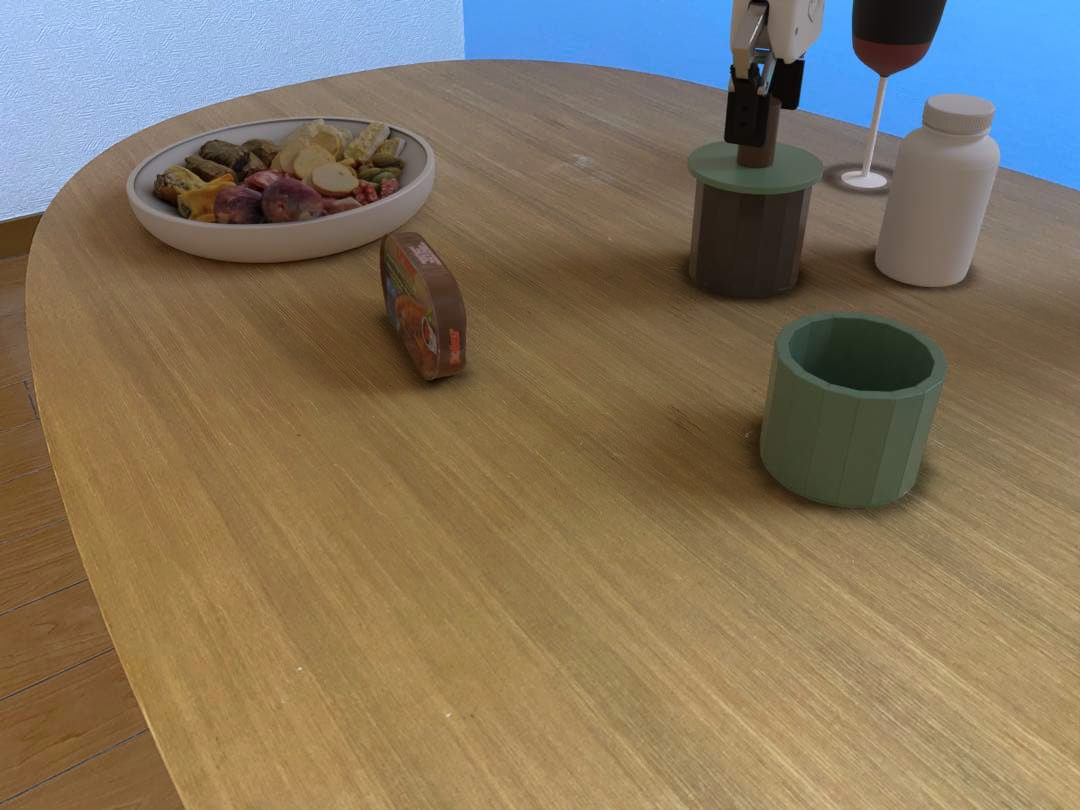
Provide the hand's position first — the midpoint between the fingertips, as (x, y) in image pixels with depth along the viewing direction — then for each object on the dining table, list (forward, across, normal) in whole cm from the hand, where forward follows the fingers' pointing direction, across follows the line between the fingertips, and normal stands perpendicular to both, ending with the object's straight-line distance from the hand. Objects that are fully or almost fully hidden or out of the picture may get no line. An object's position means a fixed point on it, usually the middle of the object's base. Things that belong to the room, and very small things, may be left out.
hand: (762, 124), depth 76 cm
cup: (+14, 0, 0) cm, 14 cm away
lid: (+4, 0, 0) cm, 4 cm away
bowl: (+14, -6, +46) cm, 49 cm away
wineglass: (+14, +27, -5) cm, 31 cm away
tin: (+14, -23, +19) cm, 33 cm away
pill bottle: (+14, +8, -14) cm, 21 cm away
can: (+14, -23, -13) cm, 30 cm away
